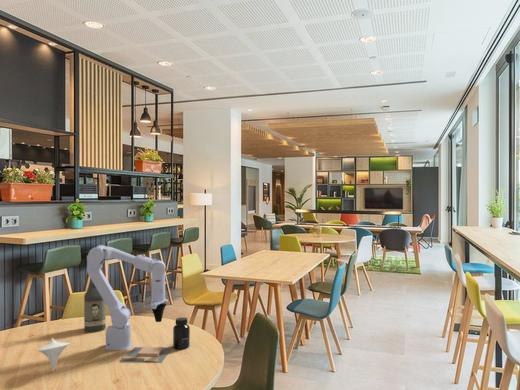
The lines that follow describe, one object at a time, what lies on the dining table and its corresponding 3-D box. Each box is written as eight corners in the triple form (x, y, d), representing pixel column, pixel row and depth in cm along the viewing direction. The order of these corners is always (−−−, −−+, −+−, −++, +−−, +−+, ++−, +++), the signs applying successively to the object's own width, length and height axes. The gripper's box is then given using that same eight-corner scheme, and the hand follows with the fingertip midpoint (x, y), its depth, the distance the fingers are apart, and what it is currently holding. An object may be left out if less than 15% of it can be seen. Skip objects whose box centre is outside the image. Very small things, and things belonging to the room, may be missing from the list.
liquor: (84, 327, 198) (84, 266, 198) (104, 325, 201) (104, 264, 202) (84, 333, 189) (84, 268, 190) (105, 330, 193) (105, 267, 193)
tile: (143, 350, 166) (137, 357, 159) (143, 346, 166) (137, 353, 159) (162, 350, 166) (157, 357, 159) (162, 346, 166) (157, 353, 159)
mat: (119, 363, 154) (119, 362, 154) (134, 348, 170) (134, 347, 170) (161, 363, 153) (161, 362, 153) (172, 348, 169) (172, 347, 169)
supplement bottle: (186, 351, 166) (185, 321, 166) (170, 350, 168) (170, 320, 168) (192, 345, 173) (192, 316, 173) (177, 344, 174) (176, 316, 174)
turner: (120, 361, 155) (120, 359, 155) (124, 358, 158) (124, 355, 158) (156, 362, 154) (156, 359, 154) (159, 358, 158) (159, 355, 158)
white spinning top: (33, 372, 147) (33, 338, 147) (64, 363, 155) (64, 331, 155) (42, 381, 140) (42, 346, 140) (74, 371, 147) (74, 338, 147)
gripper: (162, 293, 166) (163, 326, 166) (172, 286, 181) (172, 316, 181) (145, 293, 167) (146, 326, 167) (156, 286, 181) (156, 316, 181)
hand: (158, 321), depth 174 cm, fingers closed
